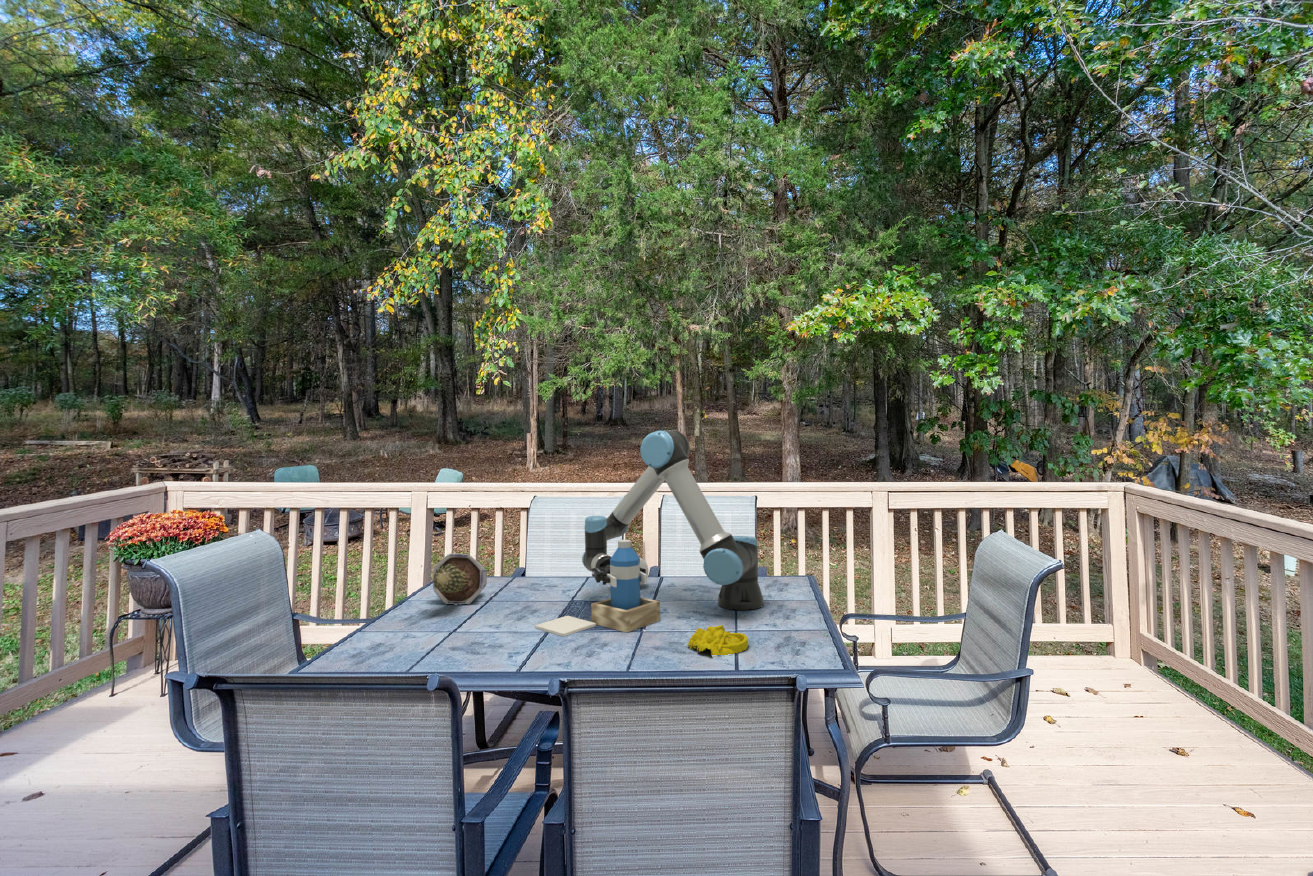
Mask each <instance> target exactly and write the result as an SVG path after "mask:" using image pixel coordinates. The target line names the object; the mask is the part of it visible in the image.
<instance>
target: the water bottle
mask: <svg viewBox="0 0 1313 876" xmlns="http://www.w3.org/2000/svg"><path fill="white" fill-rule="evenodd" d="M610 575H612V576H614V577H615V578H616V580H617V587H613V586H611V585H610V584H609V585H610V587H609V588H610V598H611V607H615V608H619V609H623V610H629V609H632V608H635V607H638V606H641V601H640V597H641V586H640V556H639V555H638V554H637V552H636V551H635V550H634V548H633V547H632V540H630V539H620V540H618V541H617V548H616V550H615V551H614V552H613V554H612V556H611V559H610Z"/></svg>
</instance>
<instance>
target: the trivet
mask: <svg viewBox="0 0 1313 876" xmlns="http://www.w3.org/2000/svg"><path fill="white" fill-rule="evenodd" d="M596 626H597V624H596V623H593V622H592V621H589V620H585V619H581V618H578V617H575V616H570V615H565V616H561V617H559V618H555V619H552V620H549V621H545V622H542V623H538V624H535V625H534V629H536V628H538V629H537V630H540V631H544V632H547V633H549V634H553V635H557V636H560V637H566V636H570V635H572V634H573V635H574V634H576V633H579V632H582V631H584V630H588V629H591V628H594V627H596Z"/></svg>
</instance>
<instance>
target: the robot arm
mask: <svg viewBox="0 0 1313 876" xmlns="http://www.w3.org/2000/svg"><path fill="white" fill-rule="evenodd" d="M690 448H691V445H690V442H689V439H688V438H687V436H686V435H685V434H683V433H682V432H680V431H679V430H656V431H653V432H651V433H648V435H646V436H645V437H644V438H643V440H642V442H641V446H640V450H639V451H640V452H639V453H640V458H641V459H642V460H641V461H643V463H645V465H646V466H647V468H646V469H645V470H644V471H643V473H642V474H641V476H639V478H638V479H637V481H635V482H634V484H633V485H632V487H630V490H629V491H627V493H626V494H625V495H624V497H623V498H622V499H621V500H620V502H619V503H618V504H617V505H616V507H614V509H613V511H612V512H611V513H610V514H609V516H607V518H606V516H604V515H588V516H587V517H586V518H585V519H584V527H583V528H584V546H585V548H584V552H583V555H582V557H581V558H582V559H581V563H582V564H583V566H584V568H586V570H587V571H589V572H591V577H592V578H594V580H595V582H596V583H597V584H599V583H601V582H602V585H603V586H606V585H611V586H613V587H617V580H616V578H615V577H614V576H612V575H610V559H611V557H612V556H611V555H609V554H608V541H609V540H612V539H616V538H619V537H621V536H623V535H625V534H626V533H627V531H628V529H629V525H630V524H631V523H632V521H633V519H635V518H636V516H637V515H638V514H639V513H640V511H641V510H642V509H643V508H644V506H645V505H646V504H647V503H648V501H650V499H651V497H653V496H654V494H655V493H656V492H657V490H658V489H659V488H661V486H662V484H663V483H665V482H666V484H667V486H668V488H669V489H670V492H671V493H672V495H673V497H674V499H675V500H676V502H677V504H678V506H679V507H680V509H681V511H682V513H683V515H684V517H685V519H686V520H687V521H688V522H687V523H688V524H689V526H690V527H691V529H692V531H693V533H694V535H695V536H696V538H697V540H698V542H699V544H700V548H699V553H700V555H701V558H702V559H703V564H702V566H703V571H704V574H705V576H706V577H707V578H708V579H709V580H710V581H711V582H712V583H714V584H717V585H720V589H719V593H718V597H717V604H719V605H718V606H720V607H721V608H724V609H727V610H732V609H735V610H734V611H750V610H749V609H753V610H757V608H758V609H761V608H762V607H763V606H764V605H763V604H765V603H764V595H763V593H762V589H761V587H760V584H759V573H758V572H759V557H758V555H759V554H758V549H759V546H758V540H757V538H756V537H754V536H747V535H746V536H745V535H733V534H732V533H730V532H726V531H725V530H724V528H723V526H722V525H721V523H720V521H719V520H718V518H717V516H716V514H715V513H714V511H713V509H712V506H710V503H709V502H708V500H707V498H706V497H705V495H704V493H703V491H702V490H701V488H700V486H699V484H698V483H697V481H696V479H695V477H694V475H693V473H692V471H691V470H690V469H689V463H690V459H689V454H690V450H691V449H690ZM640 581H641V582H643V585H644V584H647V583H648V577H647V574H646V569H643V568H640ZM761 606H762V607H761ZM760 607H761V608H760Z"/></svg>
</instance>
